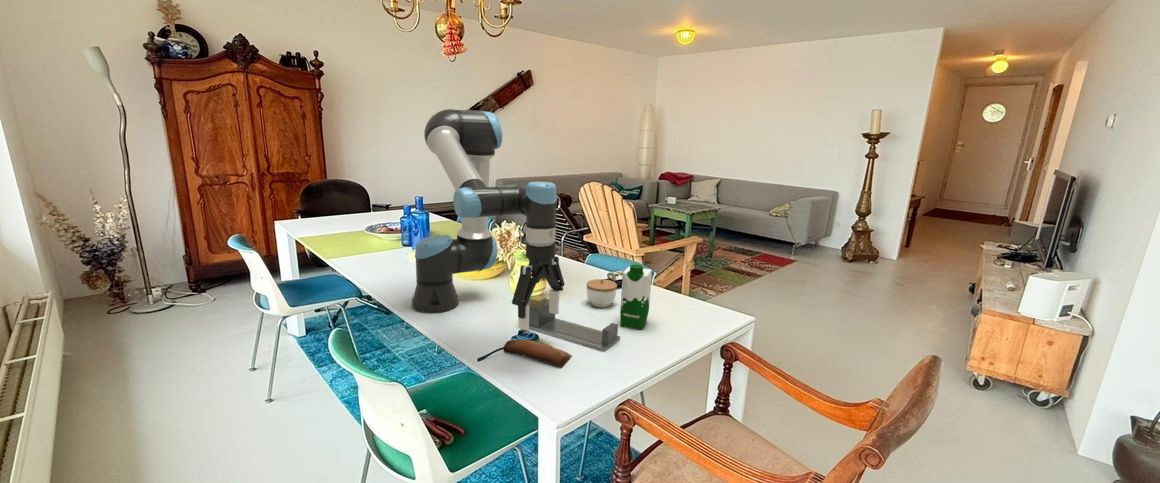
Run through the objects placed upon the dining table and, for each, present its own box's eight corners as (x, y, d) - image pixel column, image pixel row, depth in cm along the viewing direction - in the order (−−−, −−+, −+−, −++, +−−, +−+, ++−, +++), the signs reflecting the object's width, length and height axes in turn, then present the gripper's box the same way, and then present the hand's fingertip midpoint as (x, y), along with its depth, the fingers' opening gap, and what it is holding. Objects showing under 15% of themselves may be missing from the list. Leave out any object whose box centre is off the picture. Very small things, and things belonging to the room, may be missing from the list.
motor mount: (516, 325, 150) (517, 299, 148) (535, 315, 158) (536, 290, 156) (604, 351, 134) (605, 323, 132) (620, 339, 143) (621, 312, 141)
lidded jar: (614, 299, 176) (615, 275, 174) (617, 310, 165) (618, 284, 163) (585, 298, 175) (586, 274, 173) (586, 309, 165) (587, 283, 163)
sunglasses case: (575, 355, 132) (570, 340, 127) (565, 376, 127) (560, 362, 123) (518, 341, 139) (512, 326, 134) (507, 361, 134) (500, 347, 130)
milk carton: (616, 327, 152) (620, 266, 147) (623, 317, 160) (627, 259, 155) (644, 331, 149) (649, 270, 144) (649, 321, 157) (654, 262, 153)
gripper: (522, 254, 110) (521, 340, 115) (578, 236, 131) (575, 310, 136) (497, 249, 114) (497, 333, 119) (555, 233, 135) (553, 304, 140)
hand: (539, 320), depth 127 cm, fingers open, 13 cm apart
